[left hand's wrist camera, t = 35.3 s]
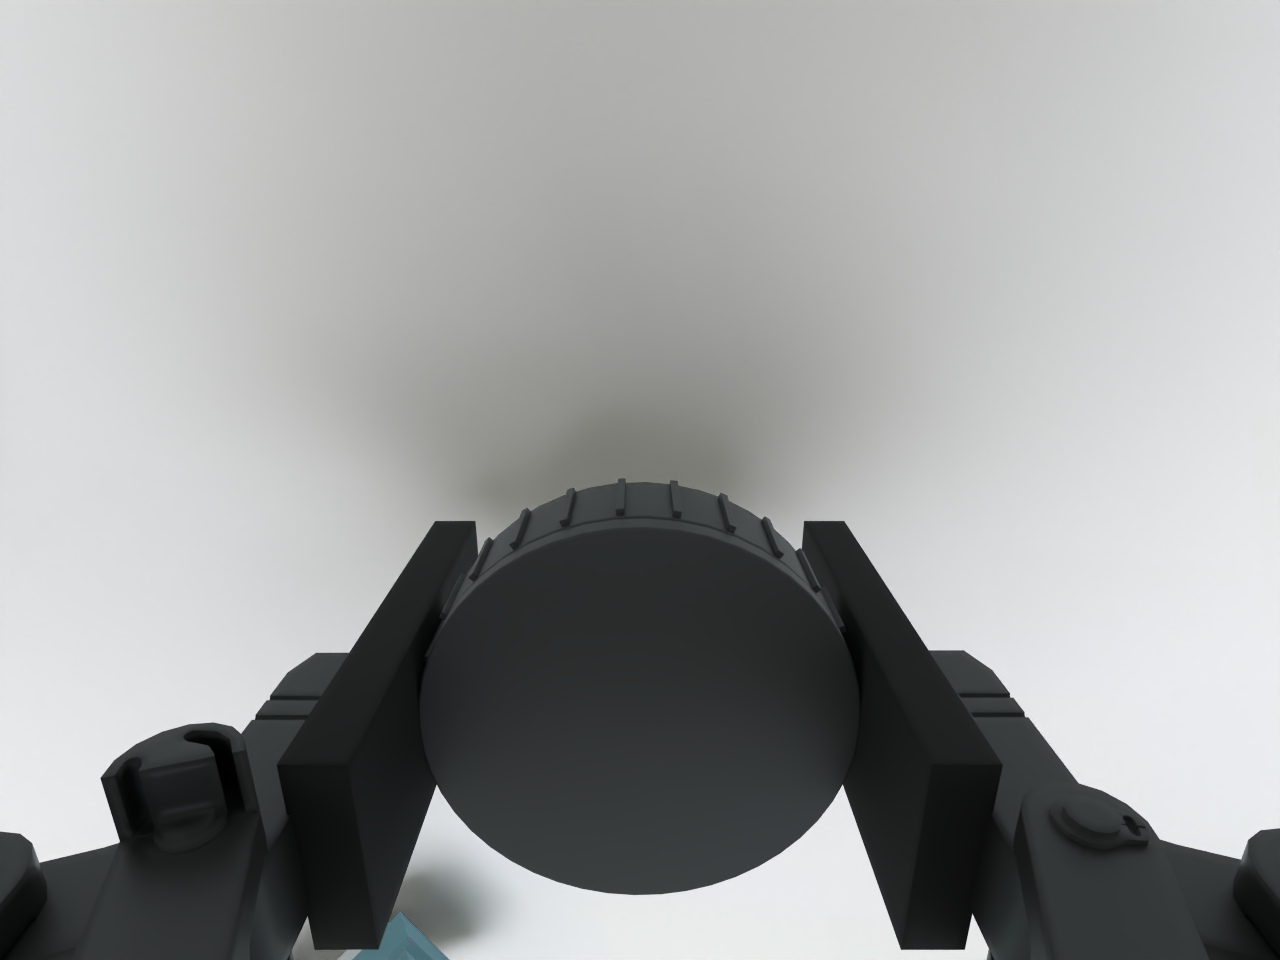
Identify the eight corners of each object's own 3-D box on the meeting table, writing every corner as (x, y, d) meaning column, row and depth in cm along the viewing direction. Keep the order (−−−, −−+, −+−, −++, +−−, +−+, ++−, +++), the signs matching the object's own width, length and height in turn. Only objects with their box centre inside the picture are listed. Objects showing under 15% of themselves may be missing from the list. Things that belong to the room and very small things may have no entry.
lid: (881, 509, 11) (923, 560, 10) (785, 835, 13) (806, 921, 12) (459, 445, 11) (427, 487, 9) (431, 789, 13) (401, 873, 11)
